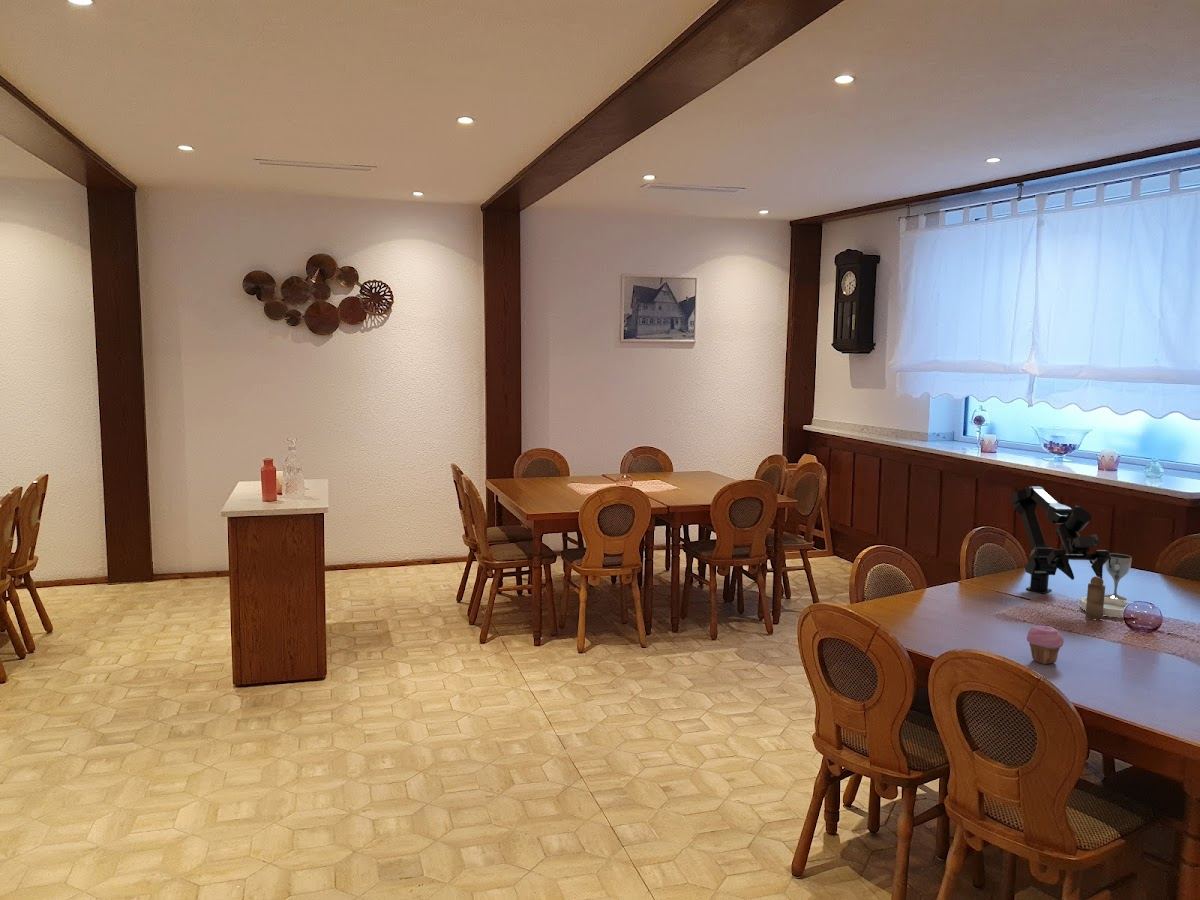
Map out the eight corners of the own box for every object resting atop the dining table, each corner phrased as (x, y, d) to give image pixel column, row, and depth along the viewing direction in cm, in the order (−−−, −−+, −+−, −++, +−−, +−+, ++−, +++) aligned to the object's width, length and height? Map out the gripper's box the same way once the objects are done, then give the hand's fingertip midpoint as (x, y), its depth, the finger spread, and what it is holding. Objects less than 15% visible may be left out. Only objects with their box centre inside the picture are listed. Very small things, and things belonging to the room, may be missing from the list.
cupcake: (1045, 669, 232) (1048, 632, 231) (1017, 658, 240) (1020, 623, 239) (1068, 665, 236) (1071, 629, 235) (1041, 654, 244) (1043, 620, 242)
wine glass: (1123, 601, 301) (1127, 559, 299) (1098, 596, 307) (1102, 555, 305) (1131, 598, 306) (1135, 556, 305) (1106, 593, 312) (1110, 552, 310)
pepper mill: (1089, 615, 283) (1092, 573, 282) (1104, 619, 280) (1108, 577, 278) (1082, 617, 280) (1086, 575, 279) (1098, 621, 277) (1102, 579, 275)
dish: (1092, 601, 300) (1093, 593, 300) (1144, 613, 288) (1144, 604, 287) (1071, 609, 290) (1072, 601, 290) (1123, 621, 278) (1124, 612, 277)
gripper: (1054, 525, 288) (1070, 565, 278) (1109, 526, 288) (1127, 566, 278) (1039, 543, 296) (1054, 583, 286) (1094, 544, 297) (1110, 584, 287)
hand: (1087, 579), depth 284 cm, fingers open, 9 cm apart
